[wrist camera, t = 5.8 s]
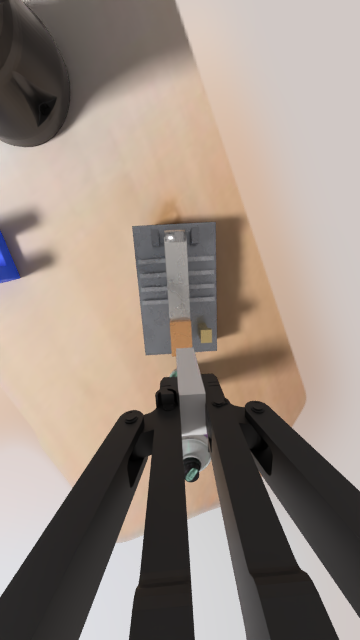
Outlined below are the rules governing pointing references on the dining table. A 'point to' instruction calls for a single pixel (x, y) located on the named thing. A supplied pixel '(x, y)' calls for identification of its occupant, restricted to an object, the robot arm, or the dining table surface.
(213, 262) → the finned block
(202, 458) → the spray can
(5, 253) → the bracket
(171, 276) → the bar
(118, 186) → the dining table surface
